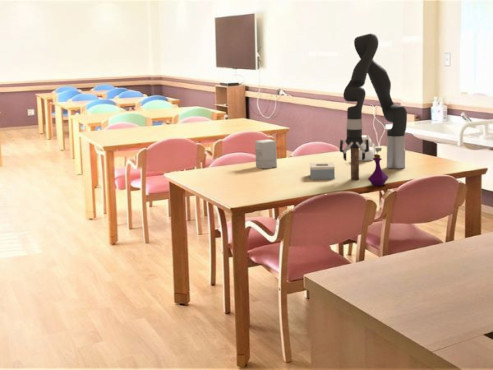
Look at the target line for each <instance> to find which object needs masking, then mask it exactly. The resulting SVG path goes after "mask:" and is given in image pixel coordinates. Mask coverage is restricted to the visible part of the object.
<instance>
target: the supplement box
mask: <svg viewBox="0 0 493 370" xmlns="http://www.w3.org/2000/svg"><path fill="white" fill-rule="evenodd" d="M254 146H255V147H254V149H255V154H254V155H255V167H256V166H257V167H256V168H258V167H260V168H259V169H261V168H269V169H273V168H272V167H276V168H277V167H278V166H277V165H278V163H277V159H278V158H277V141H276V140H273V139H269V138H268V139H260V140H254Z"/></svg>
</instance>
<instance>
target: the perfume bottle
mask: <svg viewBox="0 0 493 370" xmlns="http://www.w3.org/2000/svg"><path fill="white" fill-rule="evenodd" d="M375 148H376V149H375V155H374V158H373V159H372V160H373V162H374V163H375V169H374V171H373V172H372V173H371V175H370V176H369V177H368V179H367V180H368V182H370V184H371V185H372V186H376V187H382V186H384V185H385V184H386V182H387V180H388V179H389V177H388V175H387V174H386V173H385V172H384V171H383V170H382V167H381V165H380V164H381V160H382V159H383V158H382V157H381V155H380V154H378V153H379V152H381V151H382V147H375Z"/></svg>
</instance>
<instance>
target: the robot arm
mask: <svg viewBox="0 0 493 370" xmlns="http://www.w3.org/2000/svg"><path fill="white" fill-rule="evenodd" d="M353 41H354V42H353V45H354V46H353V47H354V49H355V51H356V54H357V55H358V57H359V60H358V62H357V63H356V65H355V66H354V68H353V71H352V74H351V77H350V78H351V79H350V80H349V82H348V83H347V85H346V87H345V88H344V90H343V94H342V95H343V99H344V101H345V102H351V103H352V102H355V103H356V104H355V105H352V106H349V107H347V108H346V109H347V110H346V116H347V117H346V139H340V140H339V152H340V153H342V155H343V156H342V158H343V160H344V161H347V153H348V151H349V149H351V148H359V149H361V151H362V160H364V159H365V153H366V152H368V151H369V143H368V139H366V140H362V135H363V122H362V118H363V117H362V115H363V112H362V110H363V106H364V102H365V99H366V95H367V94H366V90H365V88H364V85H365V84H366V80H367V75H368V77H369V80H370V84H372V88H373V90H374V91H375V94H376V97H377V99H378V101H379V104H380V107H381V110H382V114H383V117H384V118H385V120H386V121H387V122H388V123H389V122H390V123H392V125H391V126H392V127H391V128H389V129H388V130H386V167H387V168H388V169H405V168H406V150H405V133H406V131H407V122H408V121H407V120H408V112H407V109H406V107H405V106H403V105H395V103H394V102H393V100H392V97H391V88H392V82H391V78H390V77H389V73H388V71H386V69H385V68H384V67H383V66H382V65H381V64H379V63H378V62H376V61H375V60H374V57H375V56H376V53H377V51H378V47H379V39H378V37H377V35H376V34H374V33H367V34H362V35H360V36H357V37H355V38H354V40H353ZM363 142H364V144H366V149H365V150H364V149H363V148H362V146H361V144H362V143H363ZM345 143H346V146H345V148H344V149H343V147H344V144H345Z"/></svg>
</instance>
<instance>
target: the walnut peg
mask: <svg viewBox="0 0 493 370" xmlns="http://www.w3.org/2000/svg"><path fill="white" fill-rule="evenodd" d="M359 149H360V148H350V180H351V181H359V179H360V160H359Z"/></svg>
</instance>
